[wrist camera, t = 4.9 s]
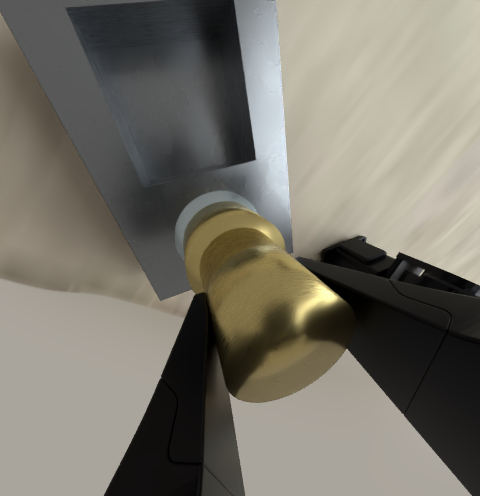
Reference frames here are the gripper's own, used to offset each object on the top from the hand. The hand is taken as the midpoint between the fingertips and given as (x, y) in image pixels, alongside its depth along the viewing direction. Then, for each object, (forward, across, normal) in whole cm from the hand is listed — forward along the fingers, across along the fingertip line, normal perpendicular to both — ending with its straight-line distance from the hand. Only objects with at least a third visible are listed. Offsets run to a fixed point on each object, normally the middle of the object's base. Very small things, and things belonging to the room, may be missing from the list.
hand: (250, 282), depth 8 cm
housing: (+11, 0, -5) cm, 12 cm away
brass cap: (+4, 0, 0) cm, 4 cm away
